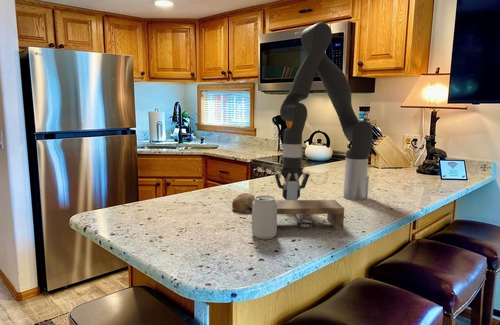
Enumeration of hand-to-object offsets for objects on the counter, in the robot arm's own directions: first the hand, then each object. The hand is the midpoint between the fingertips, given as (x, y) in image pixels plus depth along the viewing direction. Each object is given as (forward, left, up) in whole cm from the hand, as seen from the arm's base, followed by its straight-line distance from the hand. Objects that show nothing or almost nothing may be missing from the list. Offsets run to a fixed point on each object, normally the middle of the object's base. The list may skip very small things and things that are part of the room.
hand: (291, 198), depth 144 cm
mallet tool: (0, +9, -3) cm, 9 cm away
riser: (0, +23, -3) cm, 23 cm away
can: (+14, +33, -3) cm, 36 cm away
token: (0, +25, -3) cm, 25 cm away
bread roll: (+18, +4, -3) cm, 19 cm away
